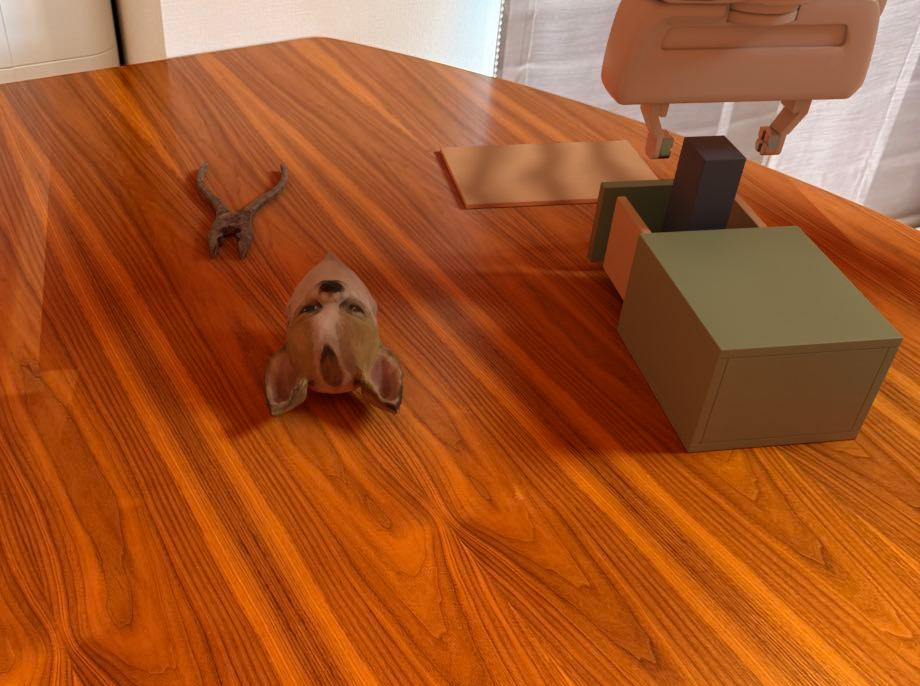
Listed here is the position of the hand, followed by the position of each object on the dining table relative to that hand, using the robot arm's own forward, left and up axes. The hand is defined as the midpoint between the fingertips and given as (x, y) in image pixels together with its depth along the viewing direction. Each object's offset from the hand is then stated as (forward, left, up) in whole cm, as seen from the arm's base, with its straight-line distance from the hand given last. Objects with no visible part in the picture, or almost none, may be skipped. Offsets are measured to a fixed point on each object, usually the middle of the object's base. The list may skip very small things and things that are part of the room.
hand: (711, 154), depth 78 cm
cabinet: (0, +12, -13) cm, 18 cm away
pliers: (+37, -22, -14) cm, 45 cm away
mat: (+4, -27, -13) cm, 30 cm away
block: (0, 0, -11) cm, 11 cm away
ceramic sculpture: (+32, +8, -14) cm, 36 cm away
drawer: (0, -1, -13) cm, 13 cm away
